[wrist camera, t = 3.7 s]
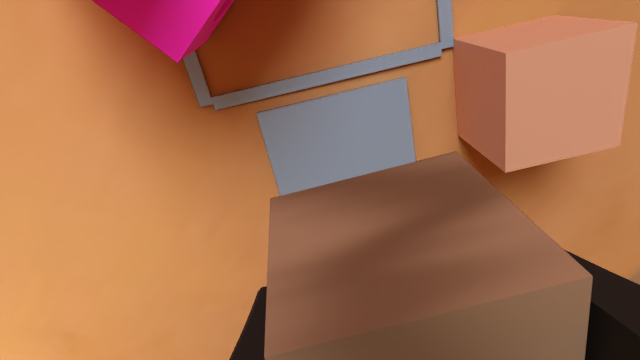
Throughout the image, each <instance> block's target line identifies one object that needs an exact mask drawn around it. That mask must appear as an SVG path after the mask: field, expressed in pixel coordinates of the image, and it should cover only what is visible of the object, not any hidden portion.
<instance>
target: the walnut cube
mask: <svg viewBox="0 0 640 360" xmlns="http://www.w3.org/2000/svg"><path fill="white" fill-rule="evenodd" d="M592 281H593V276H592V275H591V274H590V273H589V272H588V271H587V270H586V269H585V268H583V267H582V266H581V265H580V264H579V263H578V262H577V261H576V260H575V259H574V258H573V257H571V256H570V255H569V254H568V253H567V252H566V251H565V250H564V249H563V248H562V247H560V246H559V245H558V244H557V243H556V242H555V241H554V240H553V239H552V238H551V237H550V236H548V235H547V234H546V233H545V232H544V231H543V230H542V229H541V228H540V227H539V226H537V225H536V224H535V223H534V222H533V221H532V220H531V219H530V218H529V217H528V216H527V215H525V214H524V213H523V212H522V211H521V210H520V209H519V208H518V207H517V206H516V205H514V204H513V203H512V202H511V201H510V200H509V199H508V198H507V197H506V196H505V195H504V194H502V193H501V192H500V191H499V190H498V189H497V188H496V187H495V186H494V185H493V184H491V183H490V182H489V181H488V180H487V179H486V178H485V177H484V176H483V175H482V174H481V173H479V172H478V171H477V170H476V169H475V168H474V167H473V166H472V165H471V164H470V163H468V162H467V161H466V160H465V159H464V158H463V157H462V156H461V155H460V154H459V153H458V152H456V151H455V152H451V153H447V154H443V155H439V156H435V157H431V158H427V159H423V160H420V161H416V162H412V163H408V164H404V165H400V166H396V167H392V168H388V169H384V170H380V171H376V172H372V173H368V174H365V175H361V176H357V177H353V178H349V179H345V180H341V181H337V182H333V183H329V184H325V185H321V186H317V187H313V188H310V189H306V190H302V191H298V192H294V193H290V194H286V195H282V196H278V197H274V198H270V220H269V246H268V271H267V296H266V322H265V347H264V358H265V360H585V351H586V341H587V331H588V321H589V311H590V301H591V291H592Z"/></svg>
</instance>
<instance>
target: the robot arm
mask: <svg viewBox="0 0 640 360" xmlns="http://www.w3.org/2000/svg"><path fill="white" fill-rule="evenodd" d="M565 251H566V250H565ZM566 252H567V253H568V254H569V255H570V256H571V257H573V258H574V259H575V260H576V261H577V262H578V263H579V264H580V265H581V266H582V267H583V268H585V269H586V270H587V271H588V272H589V273H590V274H591V275H592V276H593V281H592V291H591V301H590V311H589V321H588V331H587V341H586V351H585V360H640V285H639V284H637V283H634V282H632V281H630V280H628V279H625V278H623V277H621V276H619V275H616V274H614V273H612V272H610V271H608V270H606V269H603V268H601V267H599V266H597V265H595V264H593V263H591V262H589V261H587V260H585V259H582V258H580V257H578V256H576V255H574V254H572V253H570V252H568V251H566ZM266 296H267V286H266V287H262V288H260V290H259V291H258V293H257V296H256V299H255V301H254V304H253V306H252V309H251V311H250V314H249V316H248V319H247V321H246V324H245V326H244V328H243V331H242V333H241V335H240V338H239V340H238V342H237V344H236V346H235V349H234V351H233V353H232V355H231V357H230V359H229V360H265V358H264V347H265V322H266Z"/></svg>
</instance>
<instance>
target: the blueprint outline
mask: <svg viewBox="0 0 640 360" xmlns="http://www.w3.org/2000/svg"><path fill="white" fill-rule="evenodd" d="M437 13H438V27H439V40H440V42H439V43H435V44H430V45H426V46H422V47H418V48H414V49H410V50H405V51H401V52H397V53H393V54H389V55H385V56H380V57H376V58H372V59H368V60H364V61H360V62H355V63H351V64H347V65H343V66H339V67H335V68H330V69H326V70H322V71H318V72H314V73H310V74H305V75H301V76H297V77H293V78H289V79H285V80H281V81H276V82H272V83H268V84H264V85H260V86H256V87H251V88H247V89H243V90H239V91H235V92H231V93H226V94H222V95H218V96H214V97H211V95H210V92H209V89H208V86H207V83H206V81H205V78H204V75H203V72H202V69H201V66H200V63H199V60H198V57H197V54H196V51H193V52H192V53H191V54H189V55H188V56H187V57H185V58H184V59H183V61H184V64H185V66H186V69H187V72H188V75H189V77H190V80H191V83H192V86H193V89H194V91H195V94H196V97H197V100H198V102H199V105H200V107H203V106H207V105H212V104H213V106H214V109H215V110H219V109H223V108H227V107H231V106H235V105H240V104H244V103H248V102H252V101H256V100H260V99H265V98H269V97H273V96H277V95H281V94H285V93H290V92H294V91H298V90H302V89H306V88H310V87H315V86H319V85H323V84H327V83H331V82H335V81H340V80H344V79H348V78H352V77H356V76H360V75H365V74H369V73H373V72H377V71H381V70H385V69H390V68H394V67H398V66H402V65H406V64H410V63H415V62H419V61H423V60H427V59H431V58H435V57H440V56H442V52H441V49H445V48H449V47H453V46H454V37H453V20H452V4H451V0H437ZM256 115H257V118H258V121H259V125H260V128H261V132H262V135H263V138H264V142H265V145H266V148H267V152H268V155H269V159H270V162H271V165H272V169H273V172H274V175H275V179H276V182H277V185H278V189H279V192H280V196H282V195H286V194H290V193H294V192H298V191H302V190H306V189H310V188H313V187H317V186H321V185H325V184H329V183H333V182H337V181H341V180H345V179H349V178H353V177H357V176H361V175H365V174H368V173H372V172H376V171H380V170H384V169H388V168H392V167H396V166H400V165H404V164H408V163H412V162H416V159H415V151H414V142H413V134H412V125H411V116H410V108H409V99H408V90H407V82H406V78H405V77H403V78H399V79H395V80H391V81H387V82H383V83H378V84H374V85H370V86H366V87H362V88H358V89H353V90H349V91H345V92H341V93H337V94H333V95H328V96H324V97H320V98H316V99H312V100H308V101H303V102H299V103H295V104H291V105H287V106H283V107H278V108H274V109H270V110H266V111H262V112H258V113H256Z"/></svg>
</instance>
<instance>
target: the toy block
mask: <svg viewBox="0 0 640 360" xmlns="http://www.w3.org/2000/svg"><path fill="white" fill-rule="evenodd" d="M93 1H94V2H95V3H97V4H98V5H99V6H101V7H102V8H103V9H105V10H106V11H108V12H109V13H110V14H112V15H113V16H114V17H116V18H117V19H118V20H120V21H121V22H122V23H124V24H125V25H127V26H128V27H129V28H131V29H132V30H133V31H135V32H136V33H137V34H139V35H140V36H141V37H143V38H144V39H146V40H147V41H148V42H150V43H151V44H152V45H154V46H155V47H156V48H158V49H159V50H161V51H162V52H163V53H165V54H166V55H167V56H169V57H170V58H171V59H173V60H174V61H175V62H177V63H178V62H180V61H181V60H182V59H184V58H185V57H187V56H188V55H189V54H191V53H192V52H193V51H195V50H196V49H197V48H199V47H200V46H201V45H203V44H204V43H206V41H207V40H208V38H209V37H210V35H211V34H212V32H213V31H214V30H215V28H216V27H217V25H218V24H219V22H220V21H221V19H222V18H223V17H224V15H225V14H226V12H227V11H228V9H229V8H230V7H231V5H232V4H233V2H234V1H235V0H93Z"/></svg>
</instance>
